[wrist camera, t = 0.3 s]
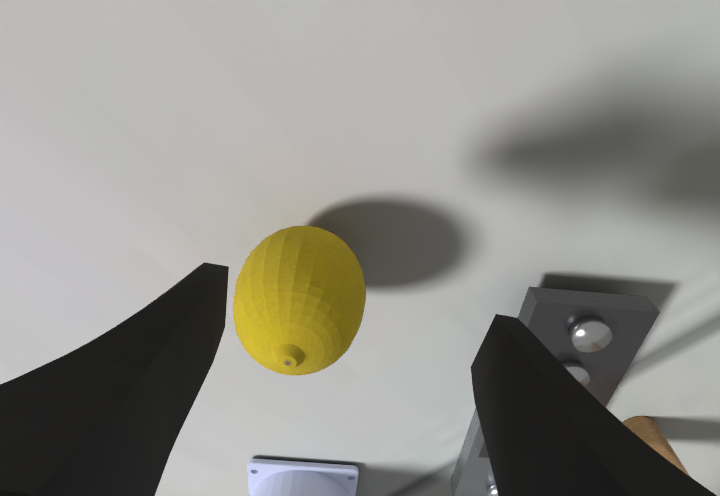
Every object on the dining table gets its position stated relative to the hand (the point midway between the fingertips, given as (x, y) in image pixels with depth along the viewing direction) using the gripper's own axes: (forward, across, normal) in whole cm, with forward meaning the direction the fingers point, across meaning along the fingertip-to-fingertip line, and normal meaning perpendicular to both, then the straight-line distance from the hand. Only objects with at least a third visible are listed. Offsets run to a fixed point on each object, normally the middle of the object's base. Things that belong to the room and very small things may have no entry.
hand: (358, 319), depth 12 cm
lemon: (+10, +2, +4) cm, 11 cm away
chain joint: (+10, -13, +13) cm, 21 cm away
